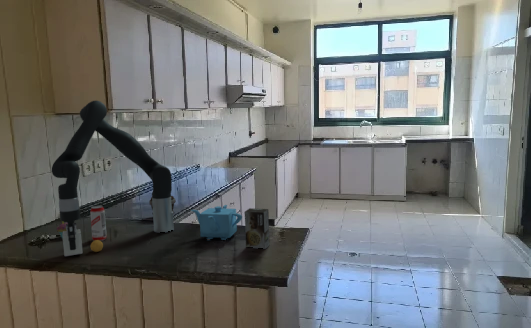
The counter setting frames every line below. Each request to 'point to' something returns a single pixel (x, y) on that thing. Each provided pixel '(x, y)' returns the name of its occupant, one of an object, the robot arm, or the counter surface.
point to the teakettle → (218, 222)
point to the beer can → (98, 223)
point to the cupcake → (61, 228)
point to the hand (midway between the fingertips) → (73, 247)
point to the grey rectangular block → (67, 245)
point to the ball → (96, 246)
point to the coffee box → (257, 228)
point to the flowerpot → (171, 203)
